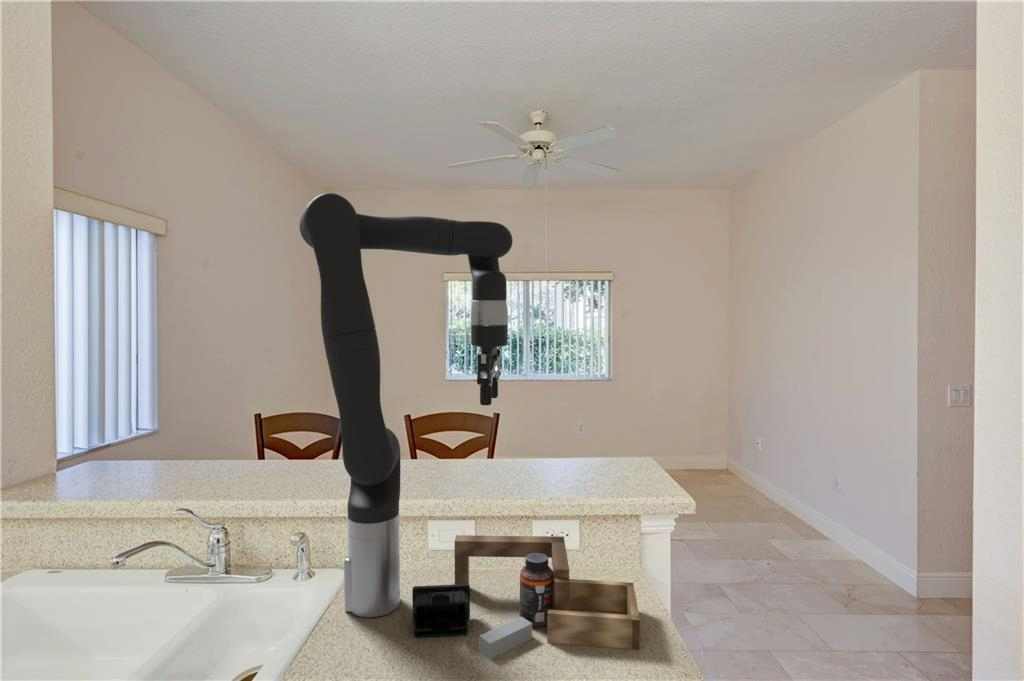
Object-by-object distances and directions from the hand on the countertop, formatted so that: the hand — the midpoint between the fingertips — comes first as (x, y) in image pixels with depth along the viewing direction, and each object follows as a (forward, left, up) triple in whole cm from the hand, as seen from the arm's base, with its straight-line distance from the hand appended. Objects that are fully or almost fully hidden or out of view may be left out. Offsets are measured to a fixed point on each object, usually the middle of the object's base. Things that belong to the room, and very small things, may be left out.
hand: (489, 401), depth 117 cm
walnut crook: (+6, -14, -36) cm, 39 cm away
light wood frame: (+21, -17, -36) cm, 45 cm away
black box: (-5, -21, -36) cm, 42 cm away
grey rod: (+7, -25, -36) cm, 45 cm away
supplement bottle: (+11, -17, -36) cm, 42 cm away
